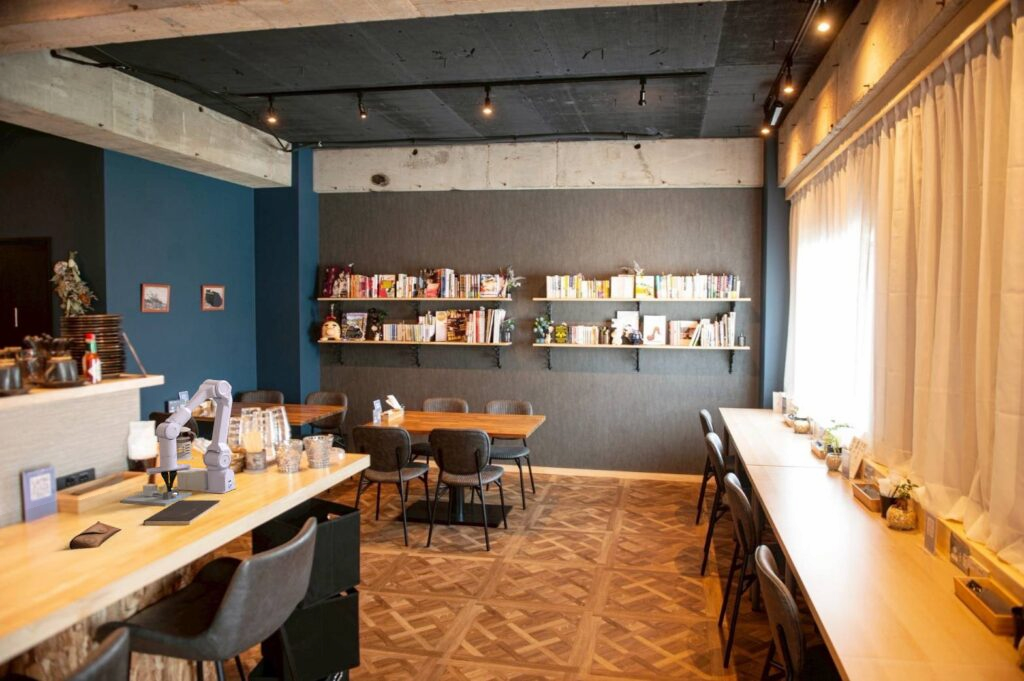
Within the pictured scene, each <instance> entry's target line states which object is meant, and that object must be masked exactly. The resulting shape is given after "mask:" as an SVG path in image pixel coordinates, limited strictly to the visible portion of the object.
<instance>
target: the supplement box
mask: <svg viewBox="0 0 1024 681" xmlns="http://www.w3.org/2000/svg"><path fill="white" fill-rule="evenodd" d="M176 488H179V491H196V492H197V491H199V492H203V491H204V490H206V489H208V470H207V468H202V467H201V468H200V467H190V470H182V471H177V476H176Z"/></svg>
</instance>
